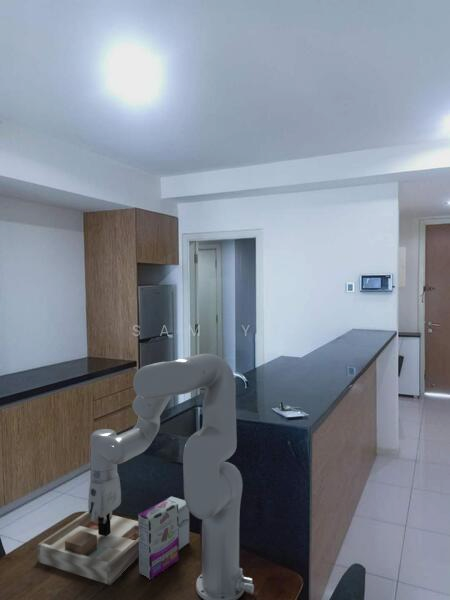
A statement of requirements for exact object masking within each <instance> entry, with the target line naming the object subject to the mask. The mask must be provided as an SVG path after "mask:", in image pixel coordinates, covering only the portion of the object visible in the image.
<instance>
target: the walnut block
mask: <svg viewBox="0 0 450 600" xmlns="http://www.w3.org/2000/svg"><path fill="white" fill-rule="evenodd" d="M65 550H68V551H71V552H75V553H78V554H81V555H85V556H89V555H90V554H92V553H93V552H94V551H96V550H97V535H94V534H90V533H87V532H84V531H79V532H78V533H76V534H75V535H73V536H72V537H70V538H69V539H67V540H66V541H65Z"/></svg>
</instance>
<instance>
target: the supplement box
mask: <svg viewBox="0 0 450 600" xmlns="http://www.w3.org/2000/svg"><path fill="white" fill-rule="evenodd" d="M167 499H168V500H170V501H173V502H175V503H178V532H179V550H181V549H182V548H183V547H185V546H186V545H187V544H189V543H190V511H189V509H188V508H187V505H186V502H185V499H182V498H179V497H175V496H169V497H168V498H167Z"/></svg>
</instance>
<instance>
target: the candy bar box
mask: <svg viewBox="0 0 450 600" xmlns="http://www.w3.org/2000/svg"><path fill="white" fill-rule="evenodd" d="M137 517H138V518H137V519H138V520H137V521H138V536H139V558H138V574H139V573H141V574H142V575H144V576H146V577H147V578H146V577H145V578H146V579H148V578H149V579H148V580H150V581H152V580H153V579H154V577H155V576H156V577H158V576H159V575H160V574H161V572H162V571H163V572H165V571H166V570H167V569H168V567H169V568H170V567H172V566H173V565H174V564H176V563H177V562H178V561H180V552H179V550H180V549H179V532H178V503H175V502H173V501H170V500H168V498H166V499H164V500H162V501H161V502H159V503H157V504H155V505H153V506H151V507H149V508H147V509H146V510H144V511H142V512H140V513H139V514H137ZM165 569H166V570H165ZM163 572H162V573H163ZM159 573H160V574H159ZM141 574H140V575H141ZM158 574H159V575H158ZM142 575H141V576H142ZM144 576H143V577H144ZM156 577H155V578H156ZM151 579H152V580H151Z"/></svg>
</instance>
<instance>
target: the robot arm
mask: <svg viewBox="0 0 450 600" xmlns="http://www.w3.org/2000/svg"><path fill="white" fill-rule="evenodd" d="M132 386H133V390H134V392H135V394H136V396H135V397H134V399H133V401H132V406H131V407H132V410H133V413H134V414H135V415H136V416H137V417H138V420H137V422H136V423H135V424H134V426H133V427H132V429H129V430H127V431H124V432H122V433H119V434H117V432H116V431H115V430H113V429H111V428H110V429H109V428H102V429H97V430H94V431H93V432H92V433H91V435H90V481H89V482H90V483H89V488H88V499H87V500H88V503H87V509H88V510H87V511H89V515H91V522H98V534H99V535H103V536H108V535H109V534H110V520H111V518H112V515H113V512H114V511H115V509H117V508H118V507H119V506H120V505H121V503H122V490H121V489H122V488H121V481H120V476H119V473H118V465H120V464H123V463H125V462H127V461H129V460H131V459H133V458H135V457H136V456H139V455H141V454H143V453H144V452H146V450H148V448H149V447H150V446H151V445H152V442H153V441H154V439H155V438H156V436H157V435H158V432H159V431H160V426H161V417H160V416H161V415H162V413H163V412H164V410H165V408H166V407H167V405H168V403H169V401H170V400H171V399H172V396H173V397H175V396H180V395H186V394H189V393H193V392H195V391H197V390H200V389H203V388H205V394H204V398H203V401H202V426H201V428H200V429H199V430H198V431H195V432H194V433H193V434H192V435H190V437H188V439H187V441H185V442H186V443H185V445H184V448H183V454H182V457H183V458H182V462H183V463H182V464H183V465H182V467H183V468H182V469H183V470H182V471H183V496H184V500H185V502H186V505H187V508H188V509H189V513H191V515H192V516H193V517H195V518H196V519H199V520H202V521H201V573H200V575H199V576H198V577H197V578H196V582H195V591H196V593H197V594H198V596H199V597H200V599H203V600H238V599H239V598H240V597H242V595H243V594H244V592H246V593H250V594H254V589H255V584H253V577H249V576H245V575H244V574H243V569H244V568H242V567H240V510H241V500H242V494H243V478H242V473H241V472H240V470H239V469H238V467H237V466H236V465H235V464H233V463H231V462H228V459H230V458H231V457H232V456H233V455H234V454H235V452H236V449H237V443H238V442H237V441H238V439H237V435H238V434H237V412H236V411H237V409H236V400H237V399H236V395H237V394H236V391H237V390H236V389H237V388H236V378H235V375H234V372H233V370H232V367H231V366H230V364H229V363H228V362H227V361H226V360H225V359H224V358H222V357H220V356H218V354H213V353H200V354H195V355H192V356H188V357H184V358H178V359H175V360H172V361H161V362H160V361H159V362H155V363H152V364H147V365H144V366H142V367H140V368H139V369H138V370H137V371H136V373H135V374H134V377H133V381H132Z"/></svg>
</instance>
